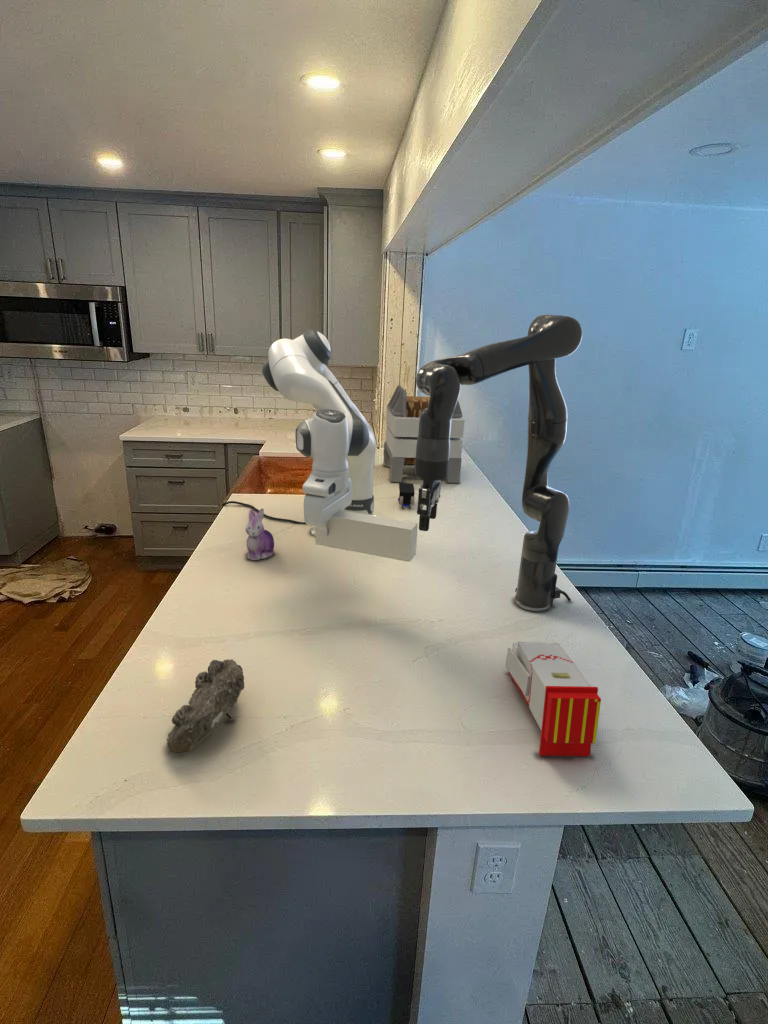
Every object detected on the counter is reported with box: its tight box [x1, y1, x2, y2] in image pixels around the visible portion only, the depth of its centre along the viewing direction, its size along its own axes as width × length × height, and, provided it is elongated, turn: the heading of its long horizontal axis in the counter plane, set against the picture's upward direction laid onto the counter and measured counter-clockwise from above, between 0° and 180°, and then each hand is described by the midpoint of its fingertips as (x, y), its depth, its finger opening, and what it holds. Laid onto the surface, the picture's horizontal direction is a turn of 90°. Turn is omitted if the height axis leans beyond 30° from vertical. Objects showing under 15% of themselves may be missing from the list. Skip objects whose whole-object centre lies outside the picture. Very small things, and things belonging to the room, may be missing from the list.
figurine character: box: [397, 482, 416, 510], centre depth 228 cm, size 7×8×15 cm
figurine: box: [245, 508, 275, 561], centre depth 176 cm, size 9×10×15 cm
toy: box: [505, 641, 602, 757], centre depth 113 cm, size 12×13×30 cm
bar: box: [314, 511, 419, 563], centre depth 138 cm, size 25×5×8 cm, turn 70°
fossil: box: [166, 658, 245, 754], centre depth 106 cm, size 22×10×15 cm
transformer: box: [383, 384, 465, 484], centre depth 268 cm, size 34×33×41 cm
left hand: (329, 531), depth 142 cm, fingers closed on bar, 5 cm apart
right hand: (427, 524), depth 131 cm, fingers open, 8 cm apart
